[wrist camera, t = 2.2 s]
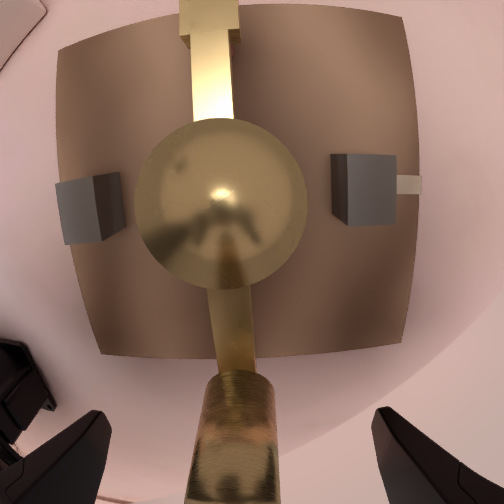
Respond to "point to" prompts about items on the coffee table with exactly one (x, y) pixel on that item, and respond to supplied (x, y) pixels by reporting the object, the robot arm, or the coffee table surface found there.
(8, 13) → the medicine bottle
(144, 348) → the post base
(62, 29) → the coffee table surface
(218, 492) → the crank handle
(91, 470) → the robot arm
